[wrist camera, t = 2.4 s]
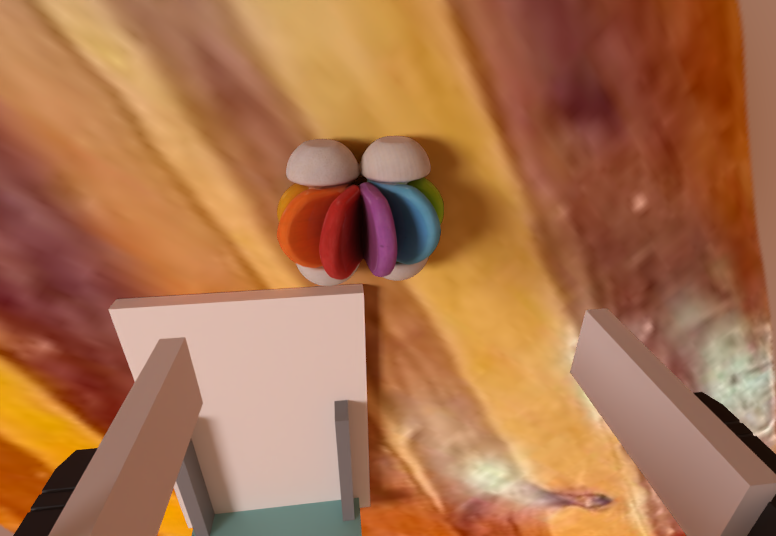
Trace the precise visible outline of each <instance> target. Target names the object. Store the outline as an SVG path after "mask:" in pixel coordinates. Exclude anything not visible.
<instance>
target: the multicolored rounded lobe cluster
mask: <svg viewBox="0 0 776 536" xmlns="http://www.w3.org/2000/svg"><path fill="white" fill-rule="evenodd" d="M430 170H431V165H430V161H429V158H428V155H427V153H426V152H425V150H424V149H423V148H422V146H421V145H420V144H419V143H417V142H416V141H415V140H413V139H411V138H409V137H404V136H387V137H382V138H379V139H377V140H376V141H374V142H373V143H372V144H371V145H370V146H369V147H368V148H367V149H366V151H365V152H364V154H363V156H362V159H361V162H360V163H359V164H358V162H357V161H356V159H355V157H354V155H353V154H352V152H351V151H350V150H349V149H348V148H347V147H346V146H345V145H343V144H342V143H340V142H338V141H335V140H329V139H315V140H309V141H306V142H304V143H302V144H301V145H300V146H298V147H297V148H296V149H295V151H294V152H293V153H292V155H291V156H290V158H289V161H288V164H287V168H286V175H287V178H288V179H289V180H291V181H292V182H294V183H295V184H293V185H292V186H291V187H289V188H288V189H287V190H286V191H285V192H284V194H283V195H282V197H281V199H280V201H279V204H278V208H277V216H278V221H279V226H278V231H277V238H278V241H279V244H280V246H281V248H282V250H283V251H284V253H285V254H286V255H287V256H288V257H289V258H290V259H291V260H292V261H293V262H295V263H296V265H297V267H298V269H299V270H300V272H301V273H302V274H303V276H304V277H306V278H307V279H308V280H309V281H311V282H313V283H315V284H318V285H322V286H334V285H338V284H341V283H343V282H345V281H346V280H348V279H349V278H350V277H351V276H352V275H353V274H354V273H355V272H356V270H357V268H358V266H359V264H360V262H361V260H362V259H365V261H366V263H367V265H368V267H369V269H370V270H371V272H372V273H373V274H374V275H375V276H378V277H384V278H386V279H390V280H405V279H408V278H411V277H413V276H414V275H416V274H417V273H419V272H420V271H421V270H422V269H423V267H424V266H425V264H426V262H427V260H428V258H429V256H430V255H431V254H432V252H433V251H434V250H435V248H436V247H437V245H438V242H439V239H440V234H441V227H440V225H441V223H442V220H443V215H444V204H443V199H442V197H441V195H440V193H439V191H438V190H437V188H436V187H435V186H434V185H433V184H432V183H431V182H430V181H429V180H427V179H426V178H424V177H425V176H427V175H428V174H429V173H430ZM359 175H362V176H364V177H366V178H367V182H364V183H361V184H360V185H359V186H357V185H353V181H354V180H355V179H357V178H358V176H359Z"/></svg>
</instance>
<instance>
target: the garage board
mask: <svg viewBox="0 0 776 536" xmlns="http://www.w3.org/2000/svg"><path fill="white" fill-rule="evenodd" d="M108 310H109V312H110V315H111V318H112V321H113V323H114V326H115V329H116V331H117V334H118V337H119V340H120V342H121V345H122V348H123V351H124V353H125V356H126V359H127V361H128V364H129V367H130V370H131V372H132V375H133V378H134V381H136V380H137V378H138V376H139V374H140V373H141V371H142V369H143V367H144V366H145V364H146V362H147V360H148V359H149V357H150V355H151V353H152V351H153V350H154V348H155V346H156V344H157V343H158V341H159V339H166V338H181V337H185V338H186V341H187V345H188V349H189V352H190V356H191V360H192V364H193V367H194V371H195V375H196V378H197V382H198V386H199V389H200V393H201V397H202V401H203V405H202V407H201V410H200V413H199V416H198V419H197V422H196V425H195V427H194V430H193V433H192V436H191V439H190V442H189V445H188V448H187V450H186V453H185V456H184V459H183V462H182V465H181V468H180V471H179V473H178V476H177V479H176V482H175V485H174V490H175V492H176V495H177V498H178V501H179V503H180V506H181V509H182V512H183V514H184V517H185V520H186V522H187V525H188V528H193V532H192V536H362V534H361V520H360V508H362V507H370V478H369V445H368V413H367V380H366V347H365V315H364V291H363V284H352V285H336V286H320V287H304V288H288V289H272V290H256V291H240V292H224V293H208V294H192V295H175V296H159V297H143V298H127V299H116V300H115V302H114V303H113V304H112V306H111V307H110V308H109V309H108Z"/></svg>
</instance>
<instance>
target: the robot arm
mask: <svg viewBox="0 0 776 536" xmlns="http://www.w3.org/2000/svg"><path fill="white" fill-rule="evenodd" d="M570 373H571V374H572V376H573V377H574V378H575V380H576V381H577V383H578V384H579V385H580V387H581V388H582V390H583V391H584V392H585V394H586V395H587V397H588V398H589V399H590V401H591V402H592V404H593V405H594V406H595V408H596V409H597V411H598V412H599V413H600V415H601V416H602V418H603V419H604V420H605V422H606V423H607V425H608V426H609V427H610V429H611V430H612V432H613V433H614V434H615V436H616V437H617V439H618V440H619V441H620V443H621V444H622V446H623V447H624V448H625V450H626V451H627V453H628V454H629V455H630V457H631V458H632V460H633V461H634V462H635V464H636V465H637V467H638V468H639V469H640V471H641V472H642V474H643V475H644V476H645V478H646V479H647V481H648V482H649V484H650V485H651V486H652V488H653V489H654V491H655V492H656V493H657V495H658V496H659V498H660V499H661V500H662V502H663V503H664V505H665V506H666V507H667V509H668V510H669V512H670V513H671V514H672V516H673V517H674V519H675V520H676V521H677V523H678V524H679V526H680V527H681V528H682V530H683V531H684V533H685V534H686V535H687V536H776V454H775V453H774V452H773V451H772V450H771V449H770V448H768V447H767V446H766V445H765V444H764V443H763V442H762V441H761V440H760V439H759V438H758V437H757V436H753V433H752V432H751V431H750V430H749V429H748V428H747V427H746V426H745V425H744V424H743V423H740V422H739V419H738V418H737V417H735V416H734V415H733V414H732V413H731V412H730V411H729V410H728V409H727V408H726V407H725V406H724V405H722V404H721V403H719V402H718V401H716V400H714V399H713V398H711V397H709V396H708V395H706V394H704V393H703V392H697V393H693V392H691V391H690V390H689V389H688V388H687V387H686V386H685V385H684V384H683V383H682V382H681V381H680V380H679V379H678V378H677V377H676V376H675V375H674V374H673V373H672V372H671V371H670V370H669V369H668V368H667V367H666V366H665V365H664V364H663V363H662V362H661V361H660V360H659V359H658V358H657V357H656V356H655V355H654V354H653V353H652V352H651V351H650V350H649V349H648V348H647V347H646V346H645V345H644V344H643V343H642V342H641V341H640V340H639V339H638V338H637V337H636V336H635V335H634V334H633V333H632V332H631V331H629V330H628V329H627V328H626V327H625V326H624V325H623V324H622V323H621V322H620V321H619V320H618V319H617V318H616V317H615V316H614V315H613V314H612V313H611V312H610V311H609V310H608V309H592V310H586V312H585V316H584V320H583V324H582V327H581V331H580V335H579V339H578V343H577V347H576V351H575V355H574V359H573V363H572V367H571V371H570ZM202 405H203V401H202V397H201V393H200V389H199V386H198V382H197V378H196V375H195V371H194V367H193V364H192V360H191V356H190V352H189V349H188V345H187V341H186V338H185V337H181V338H166V339H159V341H158V343H157V344H156V346H155V348H154V350H153V351H152V353H151V355H150V357H149V359H148V360H147V362H146V364H145V366H144V367H143V369H142V371H141V373H140V374H139V376H138V378H137V380H136V381H135V383H134V385H133V387H132V389H131V390H130V392H129V394H128V396H127V397H126V399H125V401H124V403H123V404H122V406H121V408H120V410H119V412H118V413H117V415H116V417H115V419H114V420H113V422H112V424H111V426H110V427H109V429H108V431H107V433H106V435H105V436H104V438H103V440H102V442H101V443H100V445H99V447H98V448H94V449H83V450H76V451H75V452H74V453H72V454H71V455H70V456H69V457H68V458H67V459H66V460H65V461H64V462H63V463H62V464H61V465H60V466H58V467H57V468H56V469H55V471H54V472H53V474H52V476H51V477H50V479H49V480H48V482H47V483H46V485H45V487H44V488H43V490H42V494H41V495H39V496H38V498H37V499H36V501H35V502H34V504H33V506H32V507H31V511H30V512H29V513H27V515H26V517H25V518H24V520H23V521H22V523H21V524H20V526H19V528H18V529H17V531H16V532H15V534H14V535H13V536H157V534H158V531H159V528H160V525H161V522H162V519H163V516H164V514H165V511H166V508H167V505H168V502H169V499H170V496H171V494H172V491H173V488H174V485H175V482H176V479H177V476H178V473H179V471H180V468H181V465H182V462H183V459H184V456H185V453H186V450H187V448H188V445H189V442H190V439H191V436H192V433H193V430H194V427H195V425H196V422H197V419H198V416H199V413H200V410H201V407H202Z"/></svg>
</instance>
